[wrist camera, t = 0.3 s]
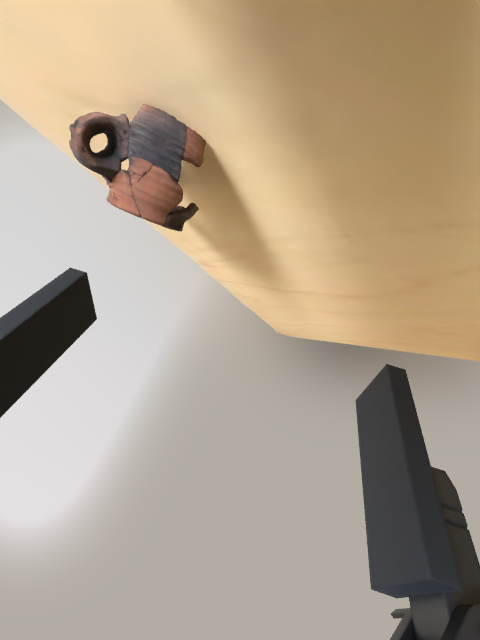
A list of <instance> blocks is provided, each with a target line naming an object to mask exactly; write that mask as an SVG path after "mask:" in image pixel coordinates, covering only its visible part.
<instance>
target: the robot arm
mask: <svg viewBox="0 0 480 640" xmlns="http://www.w3.org/2000/svg"><path fill="white" fill-rule="evenodd" d="M96 319H97V318H96V313H95V309H94V304H93V299H92V295H91V290H90V286H89V281H88V276H87V273H86V272H83V271H80V270H76V269H73V268H69V269H68V270H66V271H65V272H64V273H63V274H61V275H59V276H58V277H57V278H55V279H54V280H53V281H51V282H50V283H48V284H47V285H46V286H44V287H43V288H42V289H40V290H39V291H37V292H36V293H34V294H33V295H32V296H30V297H29V298H27V299H26V300H25V301H23V302H22V303H21V304H19V305H18V306H16V307H15V308H14V309H12V310H11V311H9V312H8V313H7V314H5V315H4V316H2V317H1V318H0V417H1V416H2V415H3V414H4V413H5V412H6V411H7V410H8V409H9V408H10V407H11V406H12V405H13V404H14V403H15V402H16V401H17V400H18V399H19V398H20V397H21V396H22V395H23V394H24V393H25V392H26V391H27V390H28V389H29V388H30V387H31V386H32V385H33V384H34V383H35V382H36V381H37V380H38V379H39V378H40V376H42V374H44V373H45V371H46V370H47V369H48V368H49V367H50V366H51V365H52V364H53V363H54V362H55V361H56V360H57V359H58V358H59V357H60V356H61V355H62V354H63V353H64V352H65V351H66V350H67V349H68V348H69V347H70V346H71V345H72V344H73V343H74V342H75V341H76V340H77V339H78V338H79V337H80V336H81V335H82V334H83V333H84V332H85V331H86V330H87V329H88V328H89V326H91V325H92V323H93V322H94V321H95V320H96ZM356 410H357V422H358V433H359V434H358V435H359V447H360V458H361V471H362V484H363V495H364V508H365V520H366V531H367V532H366V533H367V545H368V557H369V569H370V582H371V589H372V590H375V591H378V592H380V593H383V594H386V595H389V596H392V597H395V598H403V597H409V601H410V607H411V608H407V609H396V610H395V611H393V612H392V613H391V615H392V616H393V618H402V620H401V622H400V623H399V625H398V627H397V628H396V630H395V632H394V634H393V635H392V637H391V639H390V640H480V565H479V562H478V558H477V555H476V552H475V549H474V545H473V542H472V539H471V536H470V532H469V530H467V523H466V519H465V516H464V514H463V513H462V507H461V504H460V500H459V497H458V494H457V491H456V489H455V487H454V485H453V484H452V482H451V480H450V479H449V477H448V476H447V474H446V472H445V471H443V470H440V469H437V468H433V467H431V466H430V462H429V458H428V454H427V450H426V446H425V443H424V439H423V435H422V431H421V427H420V424H419V420H418V416H417V412H416V408H415V404H414V401H413V397H412V394H411V389H410V385H409V382H408V378H407V374H406V370H404V369H401V368H398V367H395V366H391V365H388V364H386V365H385V367H384V368H383V369H382V370H381V372H379V374H378V375H377V376H376V377H375V378H374V379H373V381H372V382H371V383H370V384H369V385H368V386H367V388H366V389H365V390H364V391H363V392H362V394H361V395H360V396H359V397H358V398H357V400H356Z"/></svg>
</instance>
